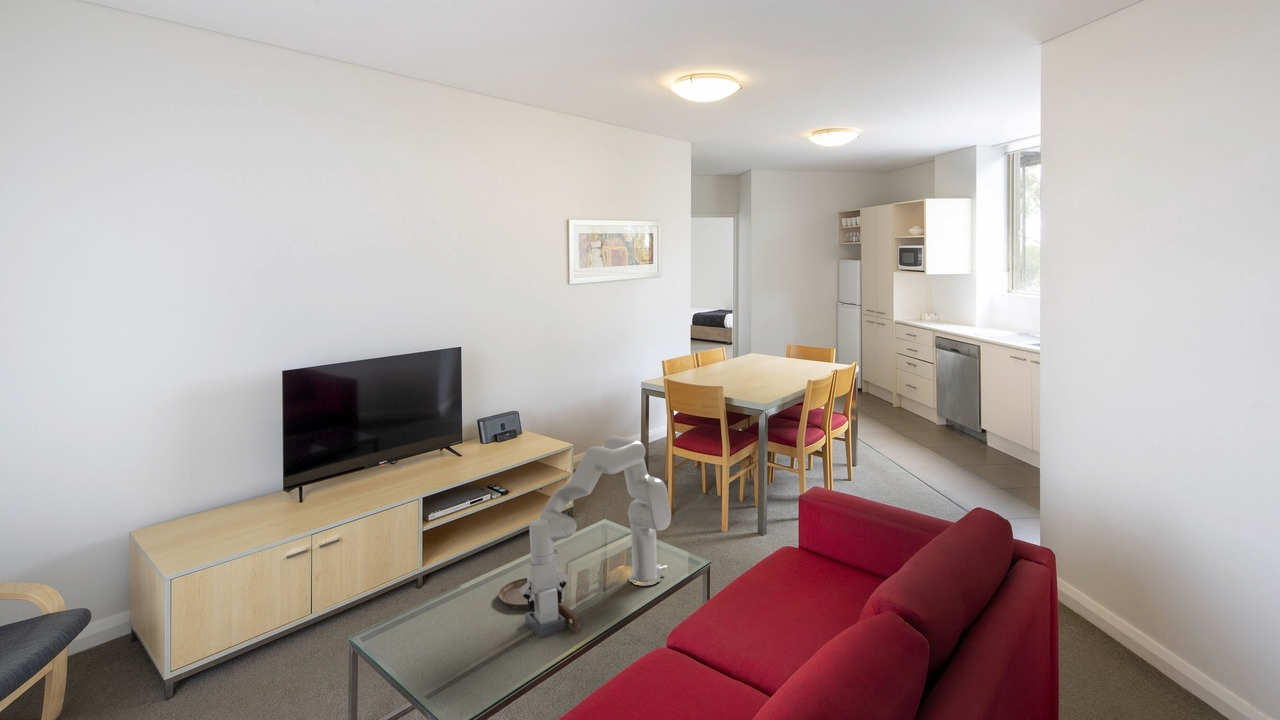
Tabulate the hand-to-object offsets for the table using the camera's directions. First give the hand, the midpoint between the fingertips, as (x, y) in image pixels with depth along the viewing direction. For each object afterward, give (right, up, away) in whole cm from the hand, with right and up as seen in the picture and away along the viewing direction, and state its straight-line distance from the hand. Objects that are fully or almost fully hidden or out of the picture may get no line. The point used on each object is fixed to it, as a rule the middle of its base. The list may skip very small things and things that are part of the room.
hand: (545, 606), depth 213 cm
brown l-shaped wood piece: (+6, -6, +4) cm, 10 cm away
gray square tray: (0, -7, +1) cm, 7 cm away
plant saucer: (-10, -6, +21) cm, 24 cm away
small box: (0, -7, +1) cm, 7 cm away
